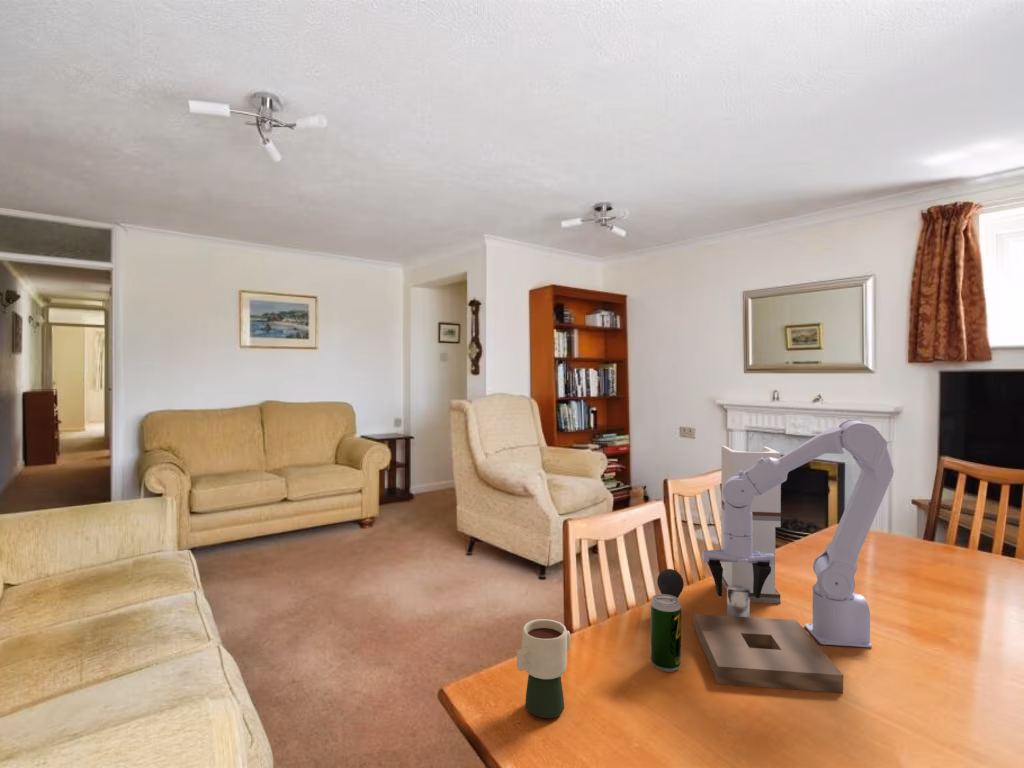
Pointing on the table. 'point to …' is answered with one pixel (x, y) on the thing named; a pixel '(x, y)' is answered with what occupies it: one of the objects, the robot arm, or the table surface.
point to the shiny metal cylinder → (738, 601)
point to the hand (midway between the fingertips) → (737, 595)
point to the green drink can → (665, 632)
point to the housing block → (765, 654)
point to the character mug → (544, 665)
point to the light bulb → (670, 582)
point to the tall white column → (753, 523)
